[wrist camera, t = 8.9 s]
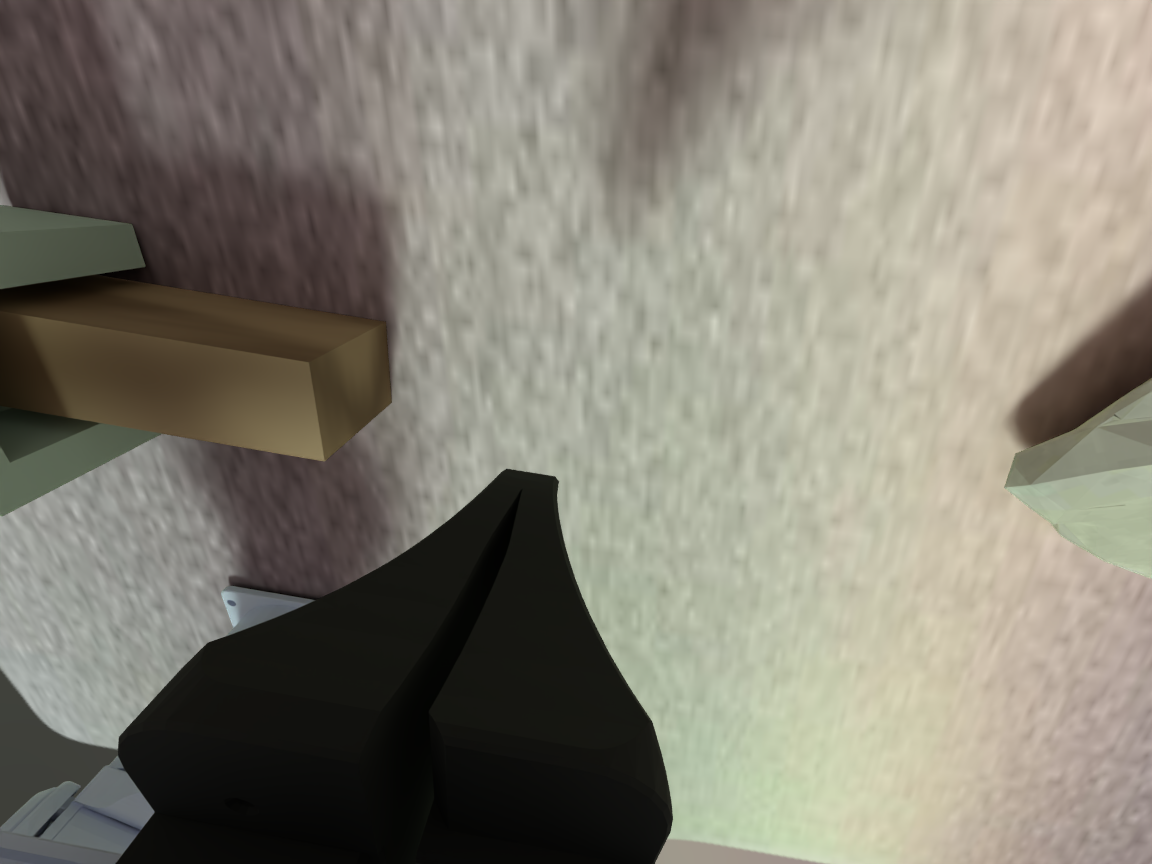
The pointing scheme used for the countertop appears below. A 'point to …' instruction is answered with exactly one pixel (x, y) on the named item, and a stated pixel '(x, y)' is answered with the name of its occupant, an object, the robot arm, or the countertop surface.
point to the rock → (1097, 482)
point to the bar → (192, 364)
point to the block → (43, 441)
